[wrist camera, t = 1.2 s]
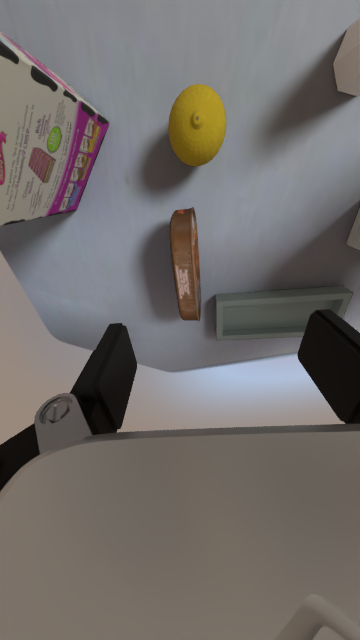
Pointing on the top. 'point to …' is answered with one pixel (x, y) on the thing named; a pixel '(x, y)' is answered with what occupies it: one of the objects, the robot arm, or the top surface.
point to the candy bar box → (42, 139)
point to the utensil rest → (274, 311)
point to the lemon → (197, 125)
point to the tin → (186, 263)
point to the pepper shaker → (349, 62)
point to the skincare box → (355, 233)
